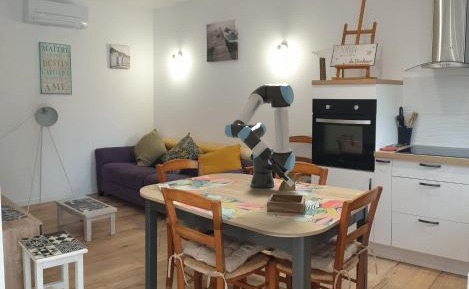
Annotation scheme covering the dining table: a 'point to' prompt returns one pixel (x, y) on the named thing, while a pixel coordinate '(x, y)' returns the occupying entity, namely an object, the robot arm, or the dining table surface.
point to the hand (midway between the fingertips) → (293, 183)
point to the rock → (284, 186)
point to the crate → (286, 203)
